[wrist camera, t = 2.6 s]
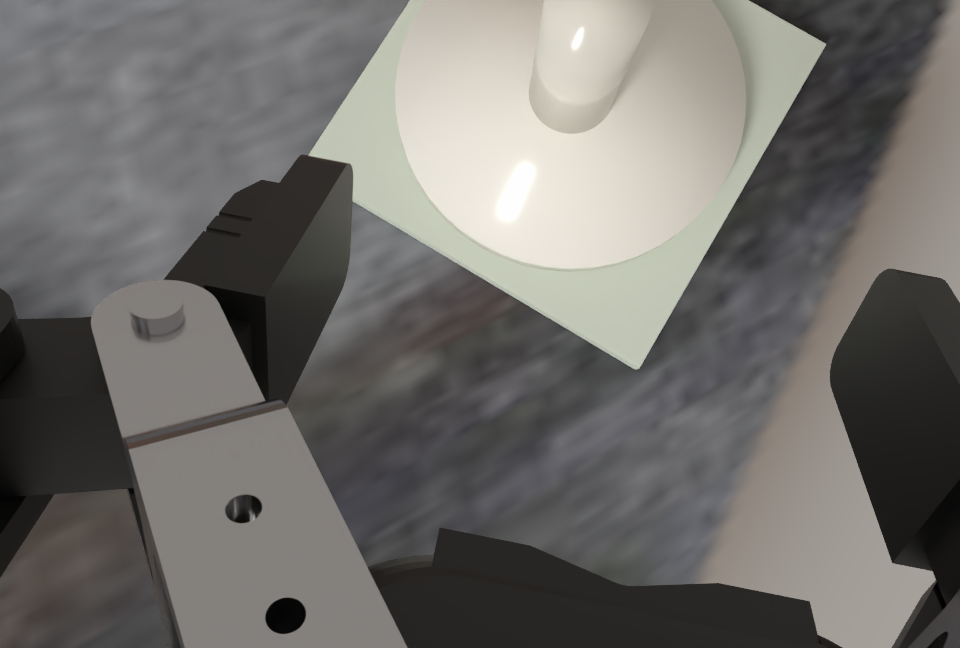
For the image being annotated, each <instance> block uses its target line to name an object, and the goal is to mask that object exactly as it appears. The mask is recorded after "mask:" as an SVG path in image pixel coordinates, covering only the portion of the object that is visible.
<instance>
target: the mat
mask: <svg viewBox="0 0 960 648" xmlns="http://www.w3.org/2000/svg"><path fill="white" fill-rule="evenodd" d="M425 1H426V0H410V1H409V3H408V4H407V6H406V7H405V9H404V10H403V12H402V13H401V15H400V16H399V18H398V20H397V21H396V23H395V24H394V26H393V27H392V29H391V30H390V32H389V33H388V35H387V36H386V38H385V39H384V41H383V42H382V44H381V45H380V47H379V49H378V50H377V52H376V53H375V55H374V56H373V58H372V59H371V61H370V62H369V64H368V65H367V67H366V68H365V70H364V71H363V73H362V74H361V76H360V77H359V79H358V81H357V82H356V84H355V85H354V87H353V88H352V90H351V91H350V93H349V94H348V96H347V97H346V99H345V100H344V102H343V103H342V105H341V106H340V108H339V109H338V111H337V113H336V114H335V116H334V117H333V119H332V120H331V122H330V123H329V125H328V126H327V128H326V129H325V131H324V132H323V134H322V135H321V137H320V138H319V140H318V142H317V143H316V145H315V146H314V148H313V149H312V151H311V152H310V154H309V155H308V156H313V157H318V158H323V159H328V160H334V161H339V162H344V163H349V164H351V166H352V169H353V197H352V201H353V202H355V203H357V204H358V205H360V206H362V207H363V208H365V209H367V210H368V211H370V212H372V213H373V214H375V215H377V216H378V217H380V218H382V219H383V220H385V221H387V222H389V223H390V224H392V225H394V226H395V227H397V228H399V229H400V230H402V231H404V232H405V233H407V234H409V235H410V236H412V237H414V238H415V239H417V240H419V241H420V242H422V243H424V244H425V245H427V246H429V247H430V248H432V249H434V250H435V251H437V252H439V253H440V254H442V255H444V256H446V257H447V258H449V259H451V260H452V261H454V262H456V263H457V264H459V265H461V266H462V267H464V268H466V269H467V270H469V271H471V272H472V273H474V274H476V275H477V276H479V277H481V278H482V279H484V280H486V281H487V282H489V283H491V284H492V285H494V286H496V287H497V288H499V289H501V290H503V291H504V292H506V293H508V294H509V295H511V296H513V297H514V298H516V299H518V300H519V301H521V302H523V303H524V304H526V305H528V306H529V307H531V308H533V309H534V310H536V311H538V312H539V313H541V314H543V315H544V316H546V317H548V318H549V319H551V320H553V321H554V322H556V323H558V324H560V325H561V326H563V327H565V328H566V329H568V330H570V331H571V332H573V333H575V334H576V335H578V336H580V337H581V338H583V339H585V340H586V341H588V342H590V343H591V344H593V345H595V346H596V347H598V348H600V349H601V350H603V351H605V352H606V353H608V354H610V355H611V356H613V357H615V358H616V359H618V360H620V361H622V362H623V363H625V364H627V365H628V366H630V367H632V368H633V369H635V370H636V369H639V368H640V366H641V365H642V363H643V361H644V359H645V358H646V356H647V354H648V353H649V351H650V349H651V347H652V346H653V344H654V342H655V340H656V339H657V337H658V335H659V333H660V332H661V330H662V328H663V327H664V325H665V323H666V321H667V320H668V318H669V316H670V314H671V313H672V311H673V309H674V307H675V306H676V304H677V302H678V301H679V299H680V297H681V295H682V294H683V292H684V290H685V288H686V287H687V285H688V283H689V281H690V280H691V278H692V276H693V275H694V273H695V271H696V269H697V268H698V266H699V264H700V262H701V261H702V259H703V257H704V255H705V254H706V252H707V250H708V249H709V247H710V245H711V243H712V242H713V240H714V238H715V236H716V235H717V233H718V231H719V229H720V228H721V226H722V224H723V223H724V221H725V219H726V217H727V216H728V214H729V212H730V210H731V209H732V207H733V205H734V203H735V202H736V200H737V198H738V197H739V195H740V193H741V191H742V190H743V188H744V186H745V184H746V183H747V181H748V179H749V177H750V176H751V174H752V172H753V171H754V169H755V167H756V165H757V164H758V162H759V160H760V158H761V157H762V155H763V153H764V152H765V150H766V148H767V146H768V145H769V143H770V141H771V139H772V138H773V136H774V134H775V132H776V131H777V129H778V127H779V126H780V124H781V122H782V120H783V119H784V117H785V115H786V113H787V112H788V110H789V108H790V106H791V105H792V103H793V101H794V100H795V98H796V96H797V94H798V93H799V91H800V89H801V87H802V86H803V84H804V82H805V80H806V79H807V77H808V75H809V74H810V72H811V70H812V68H813V67H814V65H815V63H816V61H817V60H818V58H819V56H820V54H821V53H822V51H823V49H824V48H825V46H826V44H825V43H824V42H822V41H820V40H818V39H816V38H815V37H813V36H811V35H809V34H808V33H806V32H804V31H802V30H800V29H799V28H797V27H795V26H793V25H792V24H790V23H788V22H786V21H784V20H783V19H781V18H779V17H777V16H776V15H774V14H772V13H770V12H768V11H767V10H765V9H763V8H761V7H760V6H758V5H756V4H754V3H752V2H751V1H749V0H712V2H713V3H714V4H715V6H716V7H717V9H718V10H719V11H720V13H721V14H722V16H723V18H724V20H725V22H726V24H727V26H728V27H729V29H730V31H731V33H732V36H733V38H734V41H735V44H736V46H737V49H738V51H739V55H740V59H741V63H742V67H743V72H744V78H745V88H746V115H745V123H744V129H743V134H742V140H741V143H740V146H739V149H738V152H737V155H736V158H735V161H734V163H733V166H732V168H731V170H730V172H729V174H728V176H727V178H726V180H725V182H724V183H723V185H722V186H721V188H720V189H719V191H718V192H717V194H716V195H715V197H714V198H713V200H712V201H711V202H710V203H709V204H708V205H707V206H706V207H705V209H704V210H703V211H702V212H701V213H700V214H699V215H698V216H697V217H696V218H695V219H694V220H693V221H692V222H691V223H690V224H689V225H687V226H686V227H685V228H684V229H683V230H682V231H680V232H679V233H678V234H677V235H676V236H674V237H673V238H672V239H670V240H669V241H667V242H666V243H664V244H663V245H661V246H660V247H658V248H656V249H655V250H653V251H651V252H649V253H647V254H645V255H643V256H640V257H638V258H636V259H634V260H631V261H628V262H625V263H622V264H619V265H615V266H612V267H607V268H601V269H595V270H590V271H568V272H566V271H554V270H544V269H539V268H534V267H530V266H525V265H521V264H518V263H515V262H512V261H510V260H507V259H504V258H501V257H499V256H497V255H495V254H493V253H491V252H489V251H487V250H485V249H483V248H481V247H479V246H478V245H477V244H475V243H474V242H472V241H471V240H469V239H468V238H466V237H465V236H463V235H462V234H461V233H460V232H458V231H457V230H456V229H455V228H454V227H453V226H452V225H451V224H449V223H448V222H447V221H446V220H445V219H444V218H443V217H442V216H441V214H440V213H439V212H438V211H437V210H436V209H435V207H434V206H433V205H432V204H431V203H430V201H429V200H428V198H427V197H426V195H425V194H424V192H423V191H422V189H421V188H420V186H419V184H418V183H417V180H416V178H415V176H414V174H413V172H412V170H411V168H410V166H409V163H408V160H407V157H406V154H405V151H404V148H403V145H402V141H401V137H400V133H399V127H398V122H397V116H396V104H395V84H396V74H397V66H398V62H399V58H400V54H401V50H402V46H403V44H404V41H405V38H406V36H407V33H408V31H409V28H410V26H411V24H412V22H413V20H414V19H415V17H416V15H417V13H418V11H419V10H420V8H421V6H422V5H423V4H424V2H425Z"/></svg>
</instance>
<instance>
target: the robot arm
mask: <svg viewBox="0 0 960 648" xmlns="http://www.w3.org/2000/svg"><path fill="white" fill-rule="evenodd" d="M352 197H353V169H352V166H351V164H349V163H344V162H339V161H334V160H328V159H323V158H318V157H313V156H307V155H301V156H299V157H298V159H297V160H296V161H295V163H294V164H293V165H292V167H291V168H290V169H289V171H288V172H287V173H286V175H285V176H284V177H283V179H282V180H281V182H280V183H276V182H270V181H265V180H260V181H258V182H256V183H254V184H252V185H250V186H248V187H246V188H244V189H242V190H240V191H239V192H237V193H235V194H234V195H233V196H232V197H231V199H230V200H229V201H228V202H227V203H226V205H225V206H224V207H223V208H222V209H221V211H220V212H219V216H216V217H215V218H214V219H213V220H212V222H211V223H210V224H209V225H208V226H207V230H206V232H205V231H203V232H202V234H201V235H200V236H199V237H198V238H197V240H196V241H195V242H194V243H193V245H192V246H191V247H190V248H189V249H188V251H187V252H186V253H185V254H184V255H183V257H182V258H181V259H180V260H179V261H178V263H177V264H176V265H175V266H174V268H173V269H172V270H171V271H170V272H169V274H168V275H167V276H166V277H165V278H164V280H153V281H145V282H141V283H136V284H133V285H130V286H126V287H124V288H122V289H119V290H117V291H115V292H113V293H112V294H110V295H109V296H107V297H106V298H105V299H103V300H102V301H101V302H100V303H99V304H98V306H97V307H96V308H95V310H94V312H93V314H92V317H84V318H53V319H18V318H17V315H16V311H15V308H14V305H13V301H12V299H11V298H10V296H9V295H8V294H7V293H6V292H5V291H4V290H2V289H0V577H1V576H2V574H3V572H4V571H5V569H6V568H7V566H8V565H9V563H10V562H11V560H12V559H13V557H14V555H15V554H16V552H17V551H18V549H19V548H20V546H21V545H22V543H23V542H24V540H25V539H26V537H27V535H28V534H29V532H30V531H31V529H32V528H33V526H34V525H35V523H36V522H37V520H38V518H39V517H40V515H41V514H42V512H43V511H44V509H45V508H46V506H47V505H48V503H49V502H50V500H51V498H52V497H53V495H54V494H60V493H74V492H87V491H101V490H115V489H127V492H128V496H129V500H130V504H131V507H132V511H133V515H134V518H135V522H136V526H137V530H138V533H139V537H140V541H141V545H142V548H143V552H144V556H145V560H146V563H147V567H148V571H149V574H150V578H151V582H152V586H153V589H154V593H155V597H156V601H157V605H158V608H159V612H160V616H161V621H162V625H163V629H164V633H165V637H166V642H167V646H168V648H842V647H840V646H838V645H837V644H835V643H833V642H831V641H829V640H827V639H825V638H823V637H821V636H819V635H817V631H816V626H815V622H814V618H813V614H812V610H811V605H810V602H809V601H805V600H800V599H794V598H789V597H784V596H779V595H774V594H769V593H764V592H759V591H754V590H749V589H744V588H739V587H734V586H729V585H724V584H719V583H714V584H685V585H657V586H625V585H620V584H618V583H615V582H612V581H610V580H608V579H606V578H603V577H601V576H599V575H596V574H594V573H592V572H589V571H587V570H585V569H582V568H580V567H578V566H576V565H573V564H571V563H569V562H566V561H564V560H562V559H559V558H557V557H555V556H553V555H550V554H548V553H546V552H543V551H541V550H539V549H536V548H534V547H532V546H529V545H524V544H519V543H514V542H509V541H504V540H499V539H494V538H489V537H484V536H479V535H474V534H469V533H464V532H459V531H454V530H449V529H444V528H440V529H439V534H438V538H437V543H436V548H435V553H434V555H430V556H413V557H407V558H400V559H394V560H390V561H387V562H383V563H379V564H376V565H372V566H370V567H367V566H366V564H365V562H364V560H363V558H362V556H361V554H360V552H359V550H358V547H357V545H356V543H355V541H354V539H353V537H352V535H351V533H350V531H349V529H348V527H347V525H346V523H345V521H344V519H343V517H342V515H341V513H340V511H339V509H338V507H337V505H336V503H335V501H334V499H333V497H332V495H331V493H330V491H329V489H328V487H327V485H326V483H325V481H324V479H323V477H322V475H321V473H320V471H319V469H318V467H317V465H316V463H315V461H314V459H313V457H312V455H311V453H310V451H309V449H308V447H307V445H306V443H305V441H304V439H303V437H302V435H301V433H300V431H299V429H298V427H297V425H296V423H295V421H294V419H293V417H292V415H291V413H290V411H289V410H288V408H287V406H286V405H287V402H288V400H289V398H290V396H291V394H292V392H293V390H294V388H295V386H296V384H297V382H298V380H299V378H300V376H301V374H302V371H303V369H304V367H305V365H306V363H307V361H308V359H309V357H310V355H311V353H312V351H313V349H314V347H315V345H316V343H317V340H318V338H319V336H320V334H321V332H322V330H323V328H324V326H325V324H326V322H327V320H328V318H329V316H330V314H331V312H332V309H333V307H334V305H335V303H336V301H337V299H338V297H339V295H340V293H341V291H342V288H343V285H344V282H345V279H346V275H347V270H348V265H349V257H350V242H351V220H352ZM830 383H831V388H832V391H833V394H834V397H835V400H836V403H837V405H838V409H839V411H840V414H841V417H842V420H843V423H844V426H845V429H846V431H847V434H848V437H849V440H850V443H851V446H852V448H853V451H854V454H855V457H856V460H857V463H858V466H859V469H860V472H861V474H862V477H863V480H864V483H865V486H866V489H867V492H868V494H869V497H870V500H871V503H872V506H873V509H874V511H875V514H876V517H877V520H878V523H879V526H880V529H881V531H882V534H883V537H884V540H885V543H886V546H887V548H888V551H889V555H890V557H891V560H892V563H895V564H900V565H905V566H910V567H915V568H920V569H926V570H930V571H933V573H934V575H935V578H936V580H935V582H934V583H933V584H932V585H931V586H930V587H929V588H928V590H927V591H926V592H925V593H924V594H923V595H922V597H921V598H920V600H919V602H918V604H917V605H916V607H915V609H914V610H913V612H912V614H911V616H910V617H909V619H908V621H907V622H906V624H905V626H904V627H903V629H902V631H901V633H900V634H899V636H898V638H897V639H896V641H895V643H894V645H893V646H892V648H960V303H959V301H958V300H957V298H956V296H955V295H954V294H953V292H952V290H951V288H950V287H949V285H948V284H947V283H946V281H945V280H943V279H941V278H937V277H932V276H926V275H921V274H916V273H911V272H905V271H900V270H895V269H887V270H885V271H883V272H882V273H881V274H879V276H878V277H877V278H876V279H875V281H874V283H873V284H872V286H871V288H870V289H869V291H868V293H867V295H866V296H865V298H864V300H863V302H862V304H861V305H860V307H859V309H858V311H857V312H856V315H855V316H854V318H853V320H852V321H851V323H850V325H849V327H848V329H847V330H846V332H845V334H844V336H843V337H842V339H841V341H840V343H839V345H838V346H837V348H836V351H835V353H834V356H833V359H832V364H831V370H830Z"/></svg>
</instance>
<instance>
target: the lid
mask: <svg viewBox="0 0 960 648" xmlns="http://www.w3.org/2000/svg"><path fill="white" fill-rule="evenodd" d="M395 104H396V116H397V122H398V127H399V133H400V137H401V141H402V145H403V148H404V151H405V154H406V157H407V160H408V163H409V166H410V168H411V170H412V172H413V174H414V176H415V178H416V180H417V183H418V184H419V186H420V188H421V189H422V191H423V192H424V194H425V195H426V197H427V198H428V200H429V201H430V203H431V204H432V205H433V206H434V207H435V209H436V210H437V211H438V212H439V213H440V214H441V216H442V217H443V218H444V219H445V220H446V221H447V222H448V223H449V224H451V225H452V226H453V227H454V228H455V229H456V230H457V231H458V232H460V233H461V234H462V235H463V236H465V237H466V238H468V239H469V240H471V241H472V242H474V243H475V244H477V245H478V246H479V247H481V248H483V249H485V250H487V251H489V252H491V253H493V254H495V255H497V256H499V257H501V258H504V259H507V260H510V261H512V262H515V263H518V264H521V265H525V266H530V267H534V268H539V269H544V270H554V271H566V272H568V271H590V270H595V269H601V268H607V267H612V266H615V265H619V264H622V263H625V262H628V261H631V260H634V259H636V258H638V257H640V256H643V255H645V254H647V253H649V252H651V251H653V250H655V249H656V248H658V247H660V246H661V245H663V244H664V243H666V242H667V241H669V240H670V239H672V238H673V237H674V236H676V235H677V234H678V233H679V232H680V231H682V230H683V229H684V228H685V227H686V226H687V225H689V224H690V223H691V222H692V221H693V220H694V219H695V218H696V217H697V216H698V215H699V214H700V213H701V212H702V211H703V210H704V209H705V207H706V206H707V205H708V204H709V203H710V202H711V201H712V200H713V198H714V197H715V195H716V194H717V192H718V191H719V189H720V188H721V186H722V185H723V183H724V182H725V180H726V178H727V176H728V174H729V172H730V170H731V168H732V166H733V163H734V161H735V158H736V155H737V152H738V149H739V146H740V143H741V140H742V134H743V129H744V123H745V115H746V88H745V78H744V72H743V67H742V63H741V59H740V55H739V51H738V49H737V46H736V44H735V41H734V38H733V36H732V33H731V31H730V29H729V27H728V26H727V24H726V22H725V20H724V18H723V16H722V14H721V13H720V11H719V10H718V9H717V7H716V6H715V4H714V3H713V2H712V0H426V1H425V2H424V4H423V5H422V6H421V8H420V10H419V11H418V13H417V15H416V17H415V19H414V20H413V22H412V24H411V26H410V28H409V31H408V33H407V36H406V38H405V41H404V44H403V46H402V50H401V54H400V58H399V62H398V66H397V74H396V84H395Z"/></svg>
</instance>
